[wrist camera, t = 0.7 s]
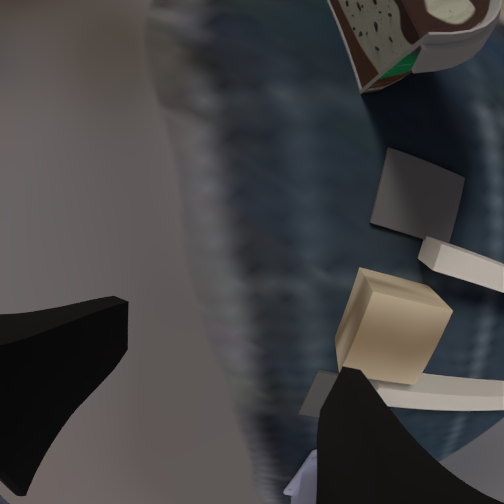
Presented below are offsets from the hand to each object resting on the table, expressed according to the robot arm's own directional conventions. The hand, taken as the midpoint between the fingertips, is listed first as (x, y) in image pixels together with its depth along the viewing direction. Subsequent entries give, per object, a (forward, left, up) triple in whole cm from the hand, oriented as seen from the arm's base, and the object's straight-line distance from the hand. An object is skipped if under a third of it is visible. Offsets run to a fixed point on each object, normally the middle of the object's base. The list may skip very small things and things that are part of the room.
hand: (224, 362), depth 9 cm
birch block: (-1, -8, -10) cm, 13 cm away
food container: (+17, -4, -10) cm, 20 cm away
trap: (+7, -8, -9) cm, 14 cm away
